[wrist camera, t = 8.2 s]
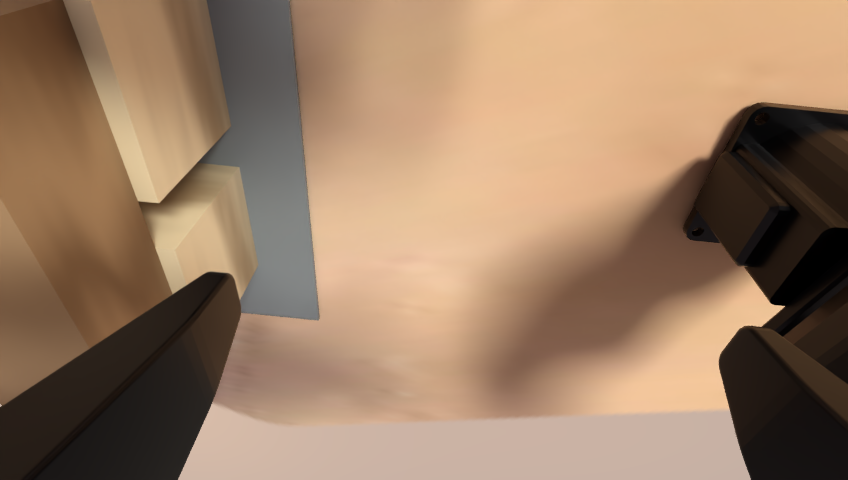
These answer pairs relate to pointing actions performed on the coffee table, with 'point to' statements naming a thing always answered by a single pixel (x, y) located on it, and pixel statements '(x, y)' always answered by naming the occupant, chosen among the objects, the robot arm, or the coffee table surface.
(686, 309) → the coffee table surface
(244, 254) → the beech cube
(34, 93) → the walnut lintel
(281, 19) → the build mat
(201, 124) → the beech cube
